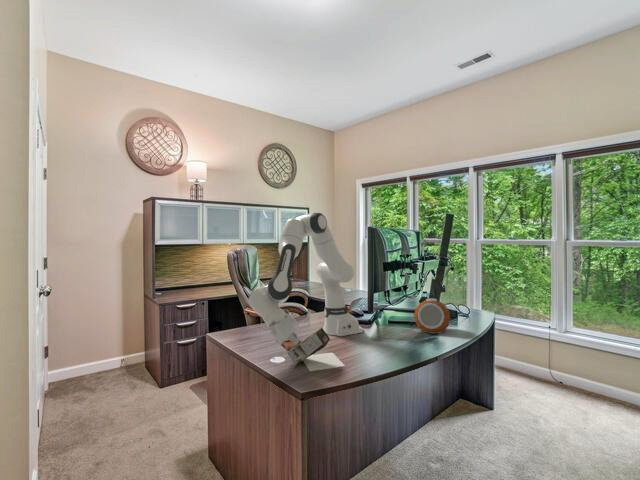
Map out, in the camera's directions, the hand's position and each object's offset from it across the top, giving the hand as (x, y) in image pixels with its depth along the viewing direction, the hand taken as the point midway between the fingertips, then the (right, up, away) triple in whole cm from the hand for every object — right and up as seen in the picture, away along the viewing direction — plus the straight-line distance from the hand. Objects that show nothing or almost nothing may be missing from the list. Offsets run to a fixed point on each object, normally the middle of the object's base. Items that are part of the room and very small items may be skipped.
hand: (298, 343), depth 140 cm
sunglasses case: (-6, -8, +23) cm, 25 cm away
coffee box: (-2, -6, +1) cm, 6 cm away
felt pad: (+10, -8, 0) cm, 13 cm away
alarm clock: (+72, -7, +44) cm, 84 cm away
